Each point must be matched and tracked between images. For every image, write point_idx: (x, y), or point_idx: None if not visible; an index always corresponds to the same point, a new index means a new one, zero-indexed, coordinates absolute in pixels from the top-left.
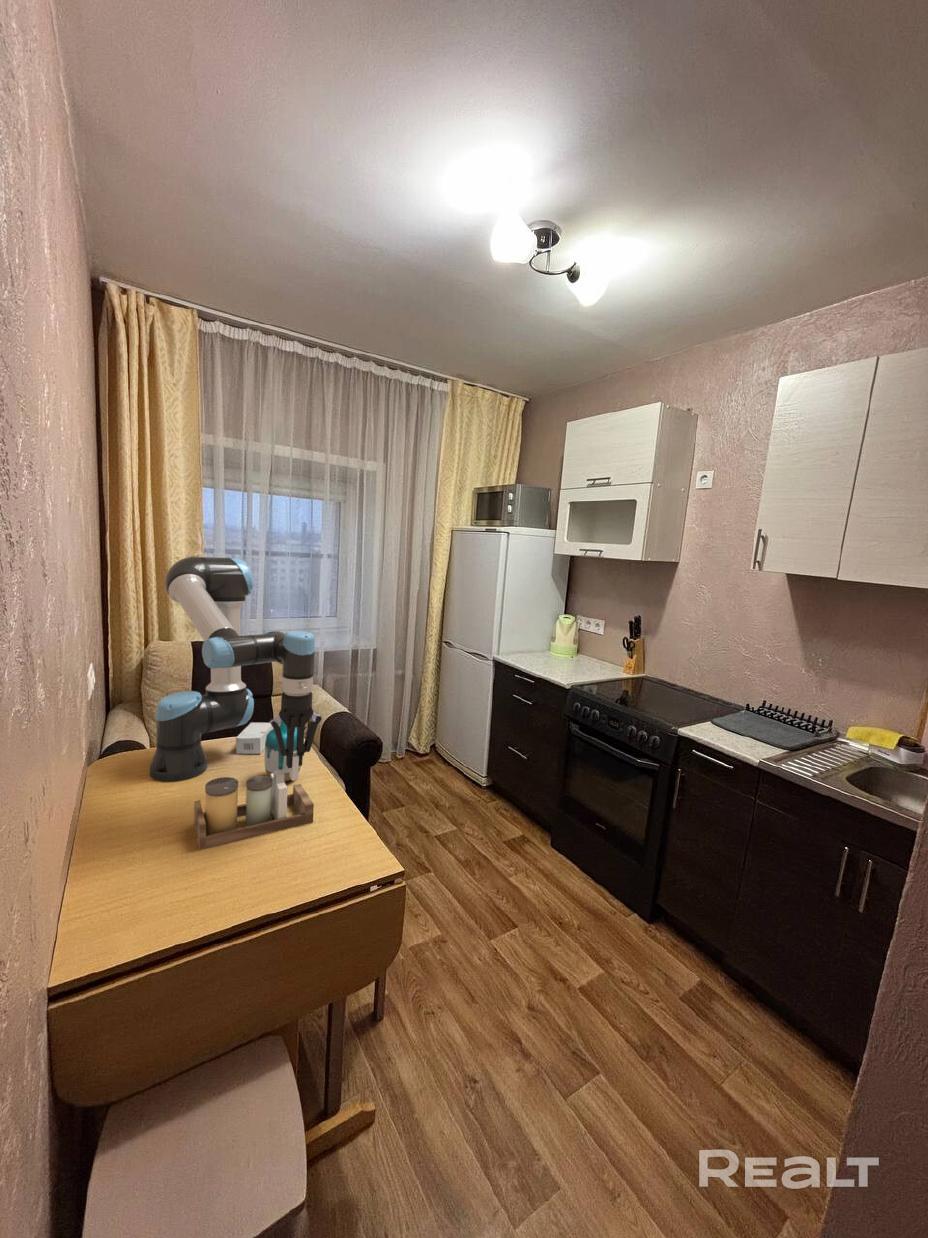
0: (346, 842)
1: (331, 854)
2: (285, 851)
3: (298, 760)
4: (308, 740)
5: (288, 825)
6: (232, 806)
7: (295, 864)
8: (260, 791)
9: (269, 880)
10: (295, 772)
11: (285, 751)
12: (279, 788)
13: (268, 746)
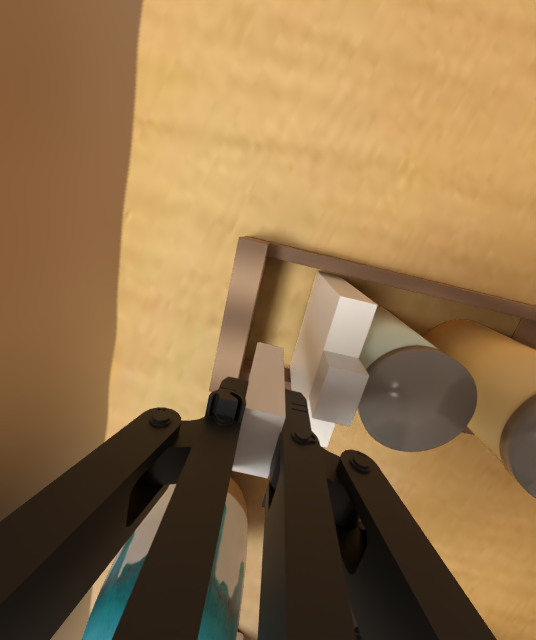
0: (220, 47)
1: (295, 14)
2: (391, 141)
3: (249, 391)
4: (111, 495)
5: (320, 254)
6: (509, 356)
7: (409, 47)
8: (434, 348)
9: (513, 20)
10: (268, 360)
11: (351, 475)
12: (373, 309)
13: (235, 620)
